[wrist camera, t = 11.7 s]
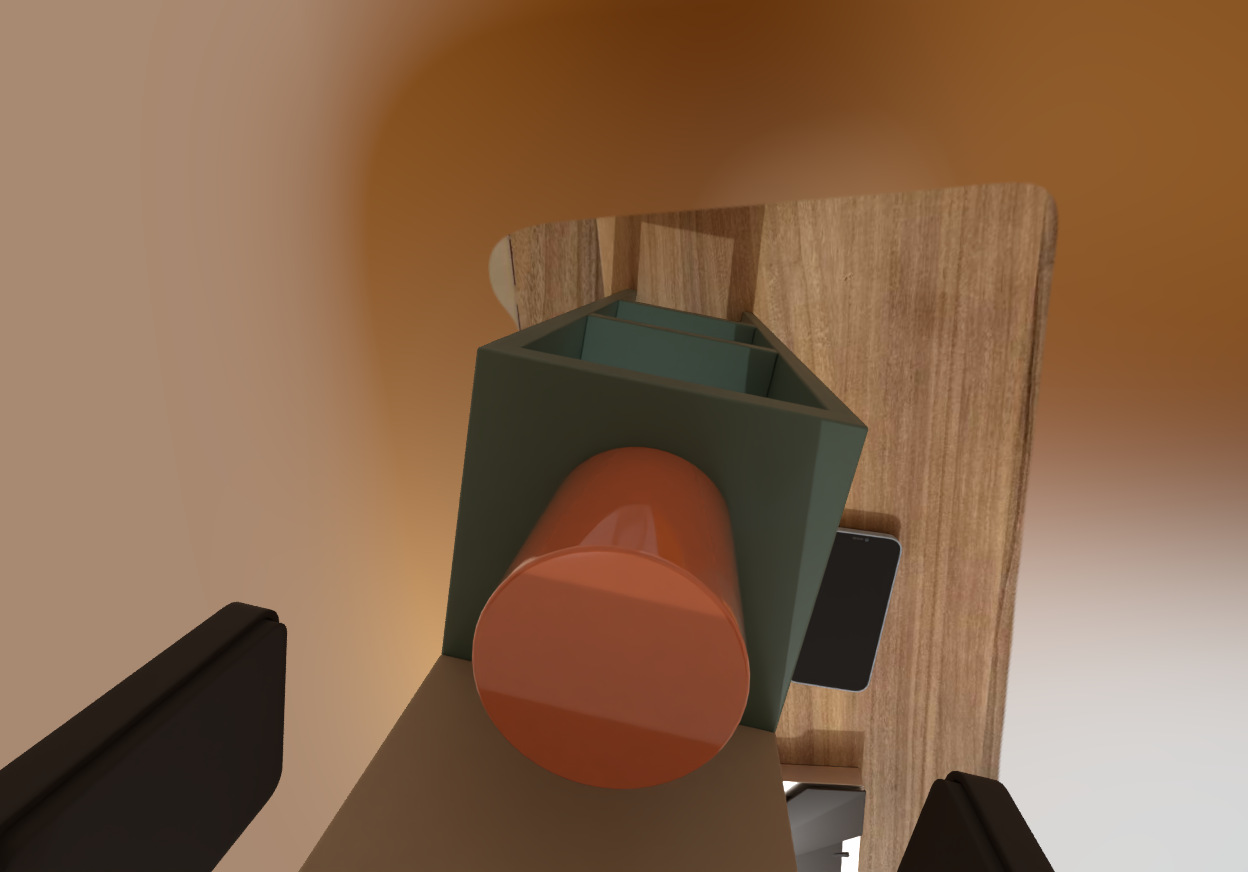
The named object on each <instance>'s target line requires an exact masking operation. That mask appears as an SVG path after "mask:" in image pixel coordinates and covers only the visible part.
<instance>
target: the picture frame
mask: <svg viewBox="0 0 1248 872" xmlns="http://www.w3.org/2000/svg"><path fill="white" fill-rule="evenodd" d="M780 765H781V771H782V777H783V783H784V790H785V796H786V802H787V808H788V814H789V821H790V827H791V833H792V839H793V846H794V852H795V858H796V864H797V870H798V872H858V862H859V847H860V836H862V832H863V820H864V808H865V796H866V791H865V790H863V788H864V785H863V781H862V778H861V775H860V772H859V769H858V768H851V767H831V766H811V765H791V764H780Z"/></svg>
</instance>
